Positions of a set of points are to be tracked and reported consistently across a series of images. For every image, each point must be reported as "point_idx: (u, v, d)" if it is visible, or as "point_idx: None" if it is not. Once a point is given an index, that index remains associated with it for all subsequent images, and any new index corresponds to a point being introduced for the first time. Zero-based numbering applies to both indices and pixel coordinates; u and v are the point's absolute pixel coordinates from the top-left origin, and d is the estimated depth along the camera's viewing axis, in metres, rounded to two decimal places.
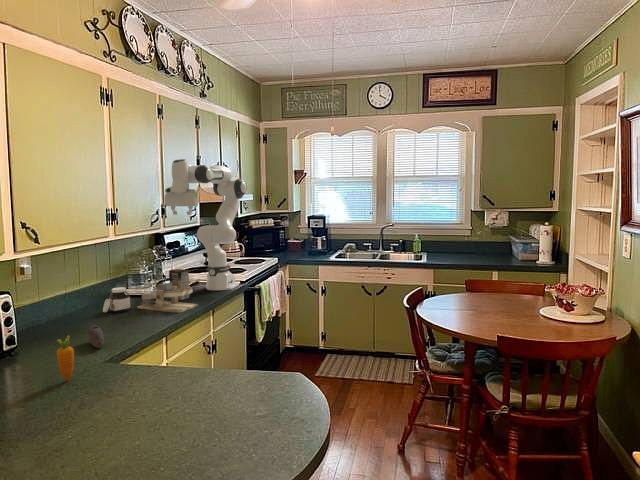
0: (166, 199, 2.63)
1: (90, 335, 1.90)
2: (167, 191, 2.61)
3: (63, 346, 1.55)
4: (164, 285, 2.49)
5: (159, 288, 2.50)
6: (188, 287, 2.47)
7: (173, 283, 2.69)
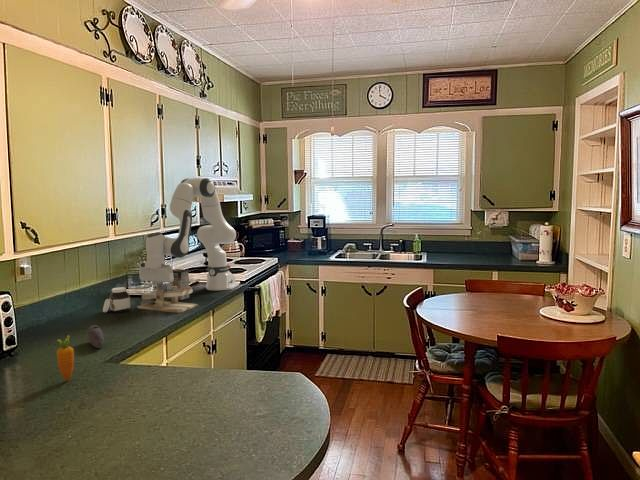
0: (141, 273, 2.54)
1: (90, 335, 1.90)
2: (141, 266, 2.52)
3: (63, 346, 1.55)
4: (165, 285, 2.48)
5: (160, 288, 2.50)
6: (188, 287, 2.47)
7: (173, 283, 2.69)
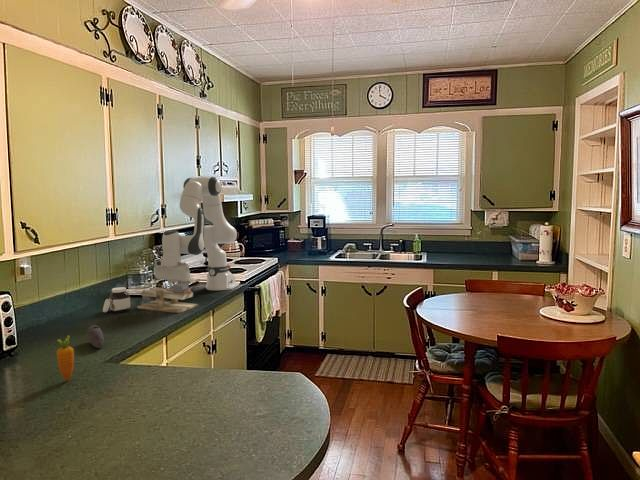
0: (156, 272, 2.50)
1: (90, 335, 1.90)
2: (157, 264, 2.47)
3: (63, 346, 1.55)
4: (180, 287, 2.44)
5: (175, 289, 2.46)
6: (189, 291, 2.47)
7: (173, 283, 2.69)
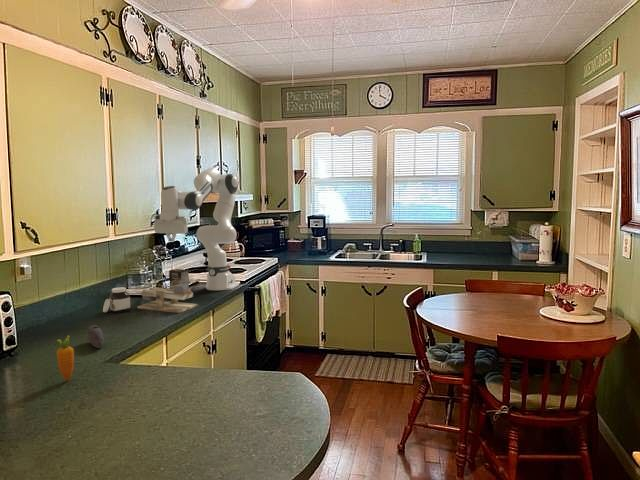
0: (155, 226, 2.62)
1: (90, 335, 1.90)
2: (156, 218, 2.59)
3: (63, 346, 1.55)
4: (181, 287, 2.44)
5: (175, 289, 2.46)
6: (189, 291, 2.47)
7: (173, 283, 2.69)
